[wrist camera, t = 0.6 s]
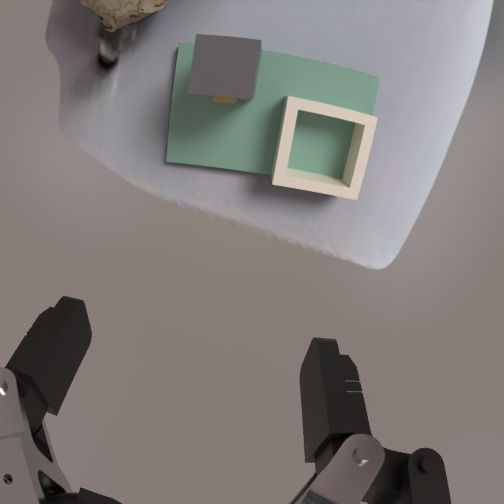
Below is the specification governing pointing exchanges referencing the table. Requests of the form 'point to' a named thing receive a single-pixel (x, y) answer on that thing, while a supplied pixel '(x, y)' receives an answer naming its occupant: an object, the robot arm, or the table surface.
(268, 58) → the board
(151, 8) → the skull
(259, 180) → the table surface
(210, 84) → the plug
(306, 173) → the frame
